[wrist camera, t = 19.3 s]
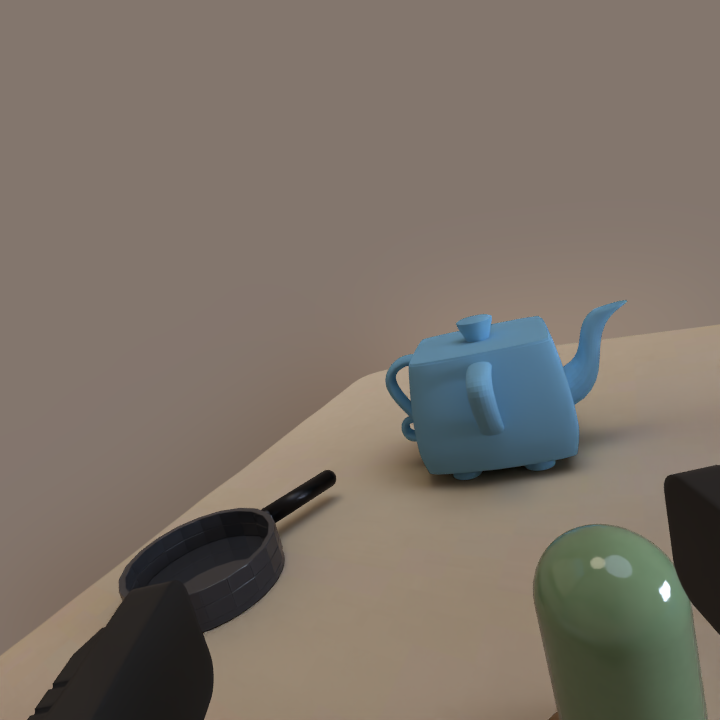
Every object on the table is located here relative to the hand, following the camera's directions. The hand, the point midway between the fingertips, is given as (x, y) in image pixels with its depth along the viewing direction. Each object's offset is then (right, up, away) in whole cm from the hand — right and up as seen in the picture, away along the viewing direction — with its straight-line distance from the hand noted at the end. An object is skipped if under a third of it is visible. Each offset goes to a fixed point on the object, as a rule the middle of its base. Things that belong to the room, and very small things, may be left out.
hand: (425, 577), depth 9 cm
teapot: (+14, -5, +42) cm, 44 cm away
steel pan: (-13, -14, +33) cm, 38 cm away
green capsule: (+9, -12, +11) cm, 19 cm away
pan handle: (-6, -10, +39) cm, 41 cm away
